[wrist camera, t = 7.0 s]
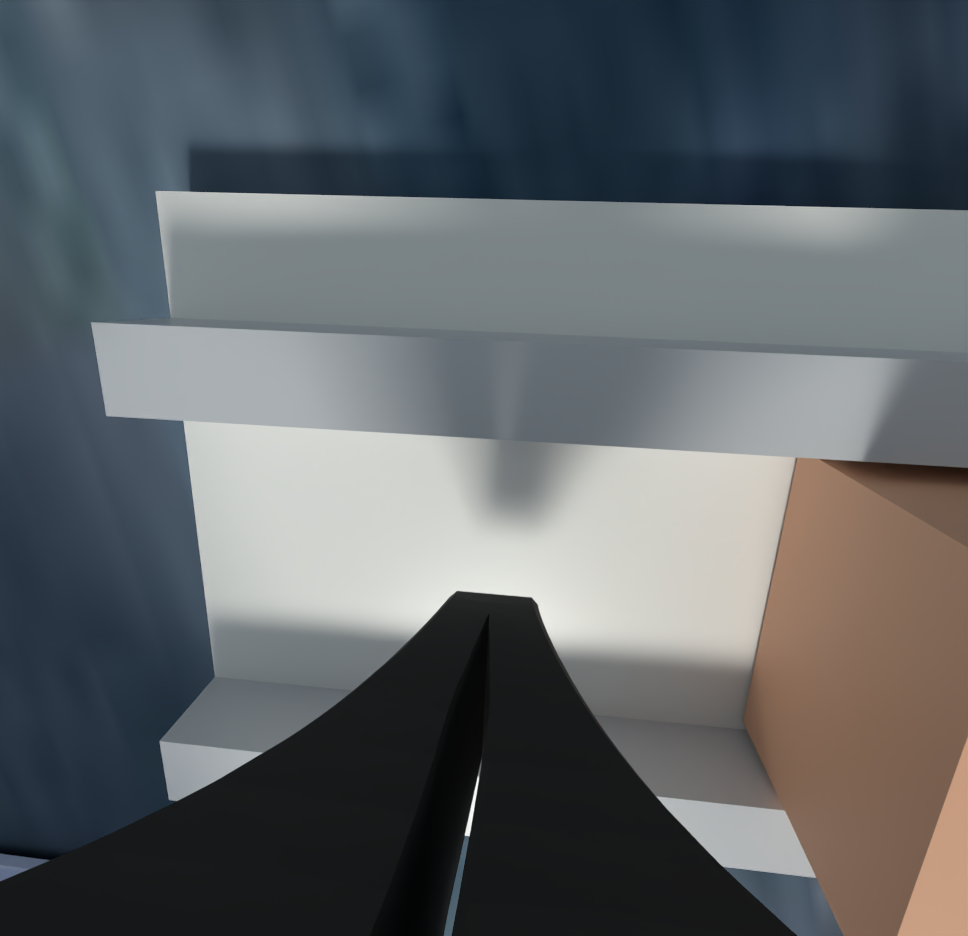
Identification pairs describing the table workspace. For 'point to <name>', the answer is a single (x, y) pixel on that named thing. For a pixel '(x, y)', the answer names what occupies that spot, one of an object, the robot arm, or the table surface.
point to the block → (872, 690)
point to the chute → (530, 445)
